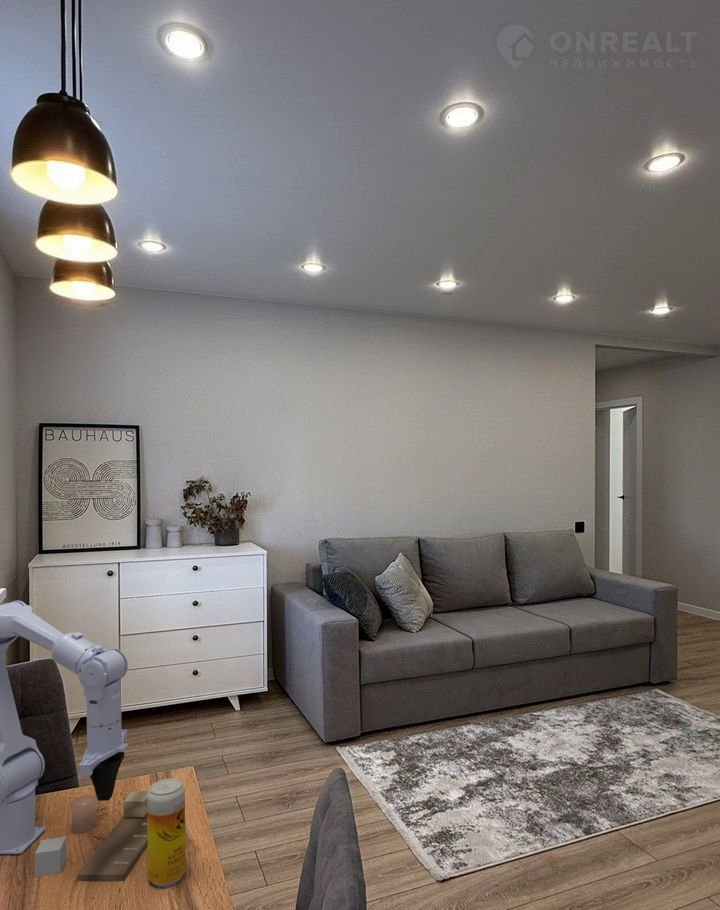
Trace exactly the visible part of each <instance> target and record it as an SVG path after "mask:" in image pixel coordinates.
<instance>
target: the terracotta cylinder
mask: <svg viewBox="0 0 720 910" xmlns="http://www.w3.org/2000/svg"><path fill="white" fill-rule="evenodd" d="M70 806H71V807H70V808H71V809H70V810H71V833H73V834H77V835H78V834H79V835H80V834H81V835H82V834H85V833H86V834H87V833H89V832H91V831H92V830H94V829H95V828H96V827H97V796H95V795H92V794H91V795H90V794H89V795H81V796H79V797H76V798H75V799H73V800H72V802H71V805H70Z"/></svg>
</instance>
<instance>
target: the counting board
mask: <svg viewBox="0 0 720 910" xmlns="http://www.w3.org/2000/svg"><path fill="white" fill-rule="evenodd" d="M146 848H148V831H147V814H146V815H145V817H124V815H123V816H122V818H121V819H120V820H119V821H118V822H117V824H116V825H115V826H114V828H113V829H112V830H111V832H110V833H109V834H107V837H106V838H105V839H104V840H103V841H102V843H101V844H100V845H99V847H98V848H97V849H96V850H95V852H94V853H93V854H92V855H91V856H90V857H89V859H88V860H87V862H86V863H85V864H84V866H83V867H82V868H81V869H80V871H78V873H77V874H76V878H77V879H76V881H79V882H80V881H81V882H88V881H89V882H91V881H94V882H101V881H103V882H107V881H109V882H113V881H114V882H118V881H119V882H124V881H125V880H126V879H127V877H128V875H129V873H130V872H131V871H132V869H133V868H134V866H135V865H136V864H137V861H138V860H139V859H140V858H141V855H142V854H143V853H144V852H145V850H146Z"/></svg>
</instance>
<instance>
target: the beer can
mask: <svg viewBox="0 0 720 910" xmlns="http://www.w3.org/2000/svg"><path fill="white" fill-rule="evenodd" d="M148 791H149V792H148V794H147V831H148V845H147V877H148V880H149V881H150V883H151V884H152V885H154V886H156V887H159V888H160V887H161V888H164V887H171V886H173V885H174V884H176V883H178V882H179V881H180V880H181V879H182V877H183V875H184V874H185V873H186V870H187V857H186V856H187V852H186V850H187V848H186V845H187V844H186V793H185V792H186V789H185V787H184V785H183V782H182V780H180V779H178V778H175V777H174V778H171V777H170V778H164V779H161V780H157V781H155V782H154V783H152V784H151V785H150V787H149V790H148Z"/></svg>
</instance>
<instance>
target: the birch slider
mask: <svg viewBox="0 0 720 910" xmlns="http://www.w3.org/2000/svg"><path fill="white" fill-rule="evenodd" d="M148 792H149V790H138V791H137V790H132V791H131V792H130V793H129V795H127V797H126V798H125V799H124V801H123V816H124V817H145V815H146V814H147V794H148Z"/></svg>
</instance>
